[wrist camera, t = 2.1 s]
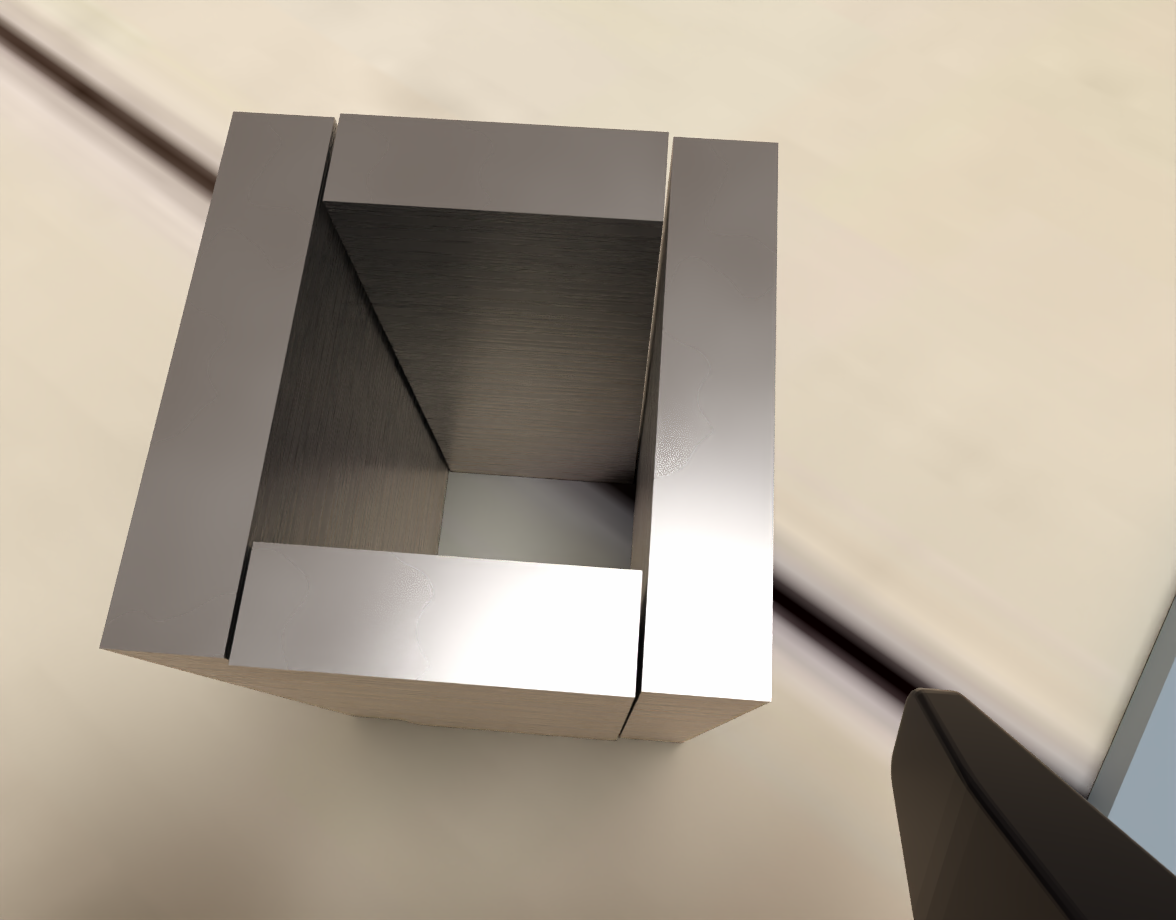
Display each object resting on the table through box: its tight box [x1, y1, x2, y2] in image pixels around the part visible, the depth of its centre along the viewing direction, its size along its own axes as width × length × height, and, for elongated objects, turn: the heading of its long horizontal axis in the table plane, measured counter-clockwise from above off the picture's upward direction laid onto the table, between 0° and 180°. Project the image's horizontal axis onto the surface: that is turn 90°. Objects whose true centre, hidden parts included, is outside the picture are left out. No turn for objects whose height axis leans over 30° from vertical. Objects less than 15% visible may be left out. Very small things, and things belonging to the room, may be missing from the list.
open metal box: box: [100, 112, 778, 743], centre depth 15 cm, size 7×7×10 cm
